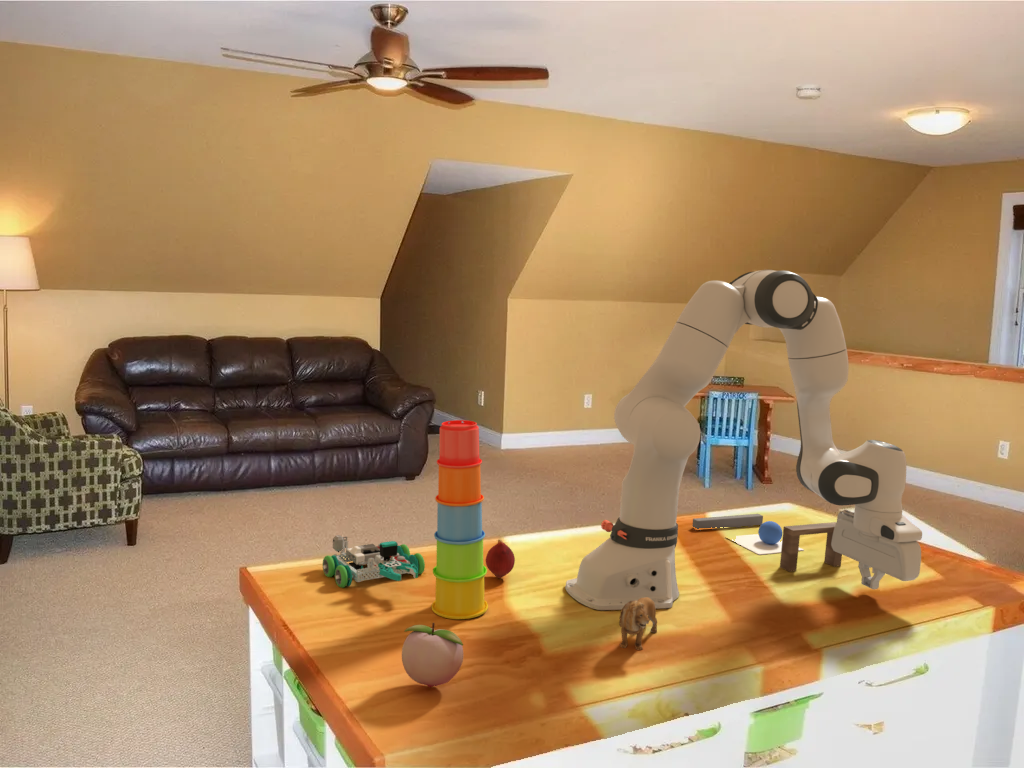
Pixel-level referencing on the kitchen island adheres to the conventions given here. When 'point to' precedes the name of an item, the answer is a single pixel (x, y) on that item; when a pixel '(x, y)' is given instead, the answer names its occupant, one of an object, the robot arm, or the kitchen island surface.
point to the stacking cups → (459, 524)
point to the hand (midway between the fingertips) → (869, 586)
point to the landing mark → (758, 544)
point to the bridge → (792, 544)
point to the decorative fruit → (431, 655)
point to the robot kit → (371, 562)
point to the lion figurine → (637, 620)
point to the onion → (500, 559)
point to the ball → (770, 532)
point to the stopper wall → (728, 521)
